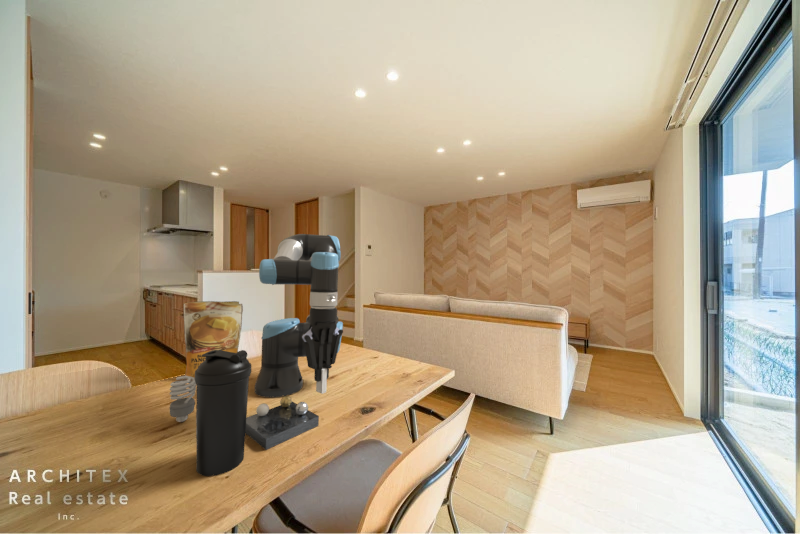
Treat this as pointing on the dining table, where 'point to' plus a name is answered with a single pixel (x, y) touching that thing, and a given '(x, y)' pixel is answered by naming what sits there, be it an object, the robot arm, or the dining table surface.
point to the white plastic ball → (262, 409)
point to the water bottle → (221, 411)
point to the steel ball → (301, 408)
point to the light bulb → (182, 398)
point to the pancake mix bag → (210, 330)
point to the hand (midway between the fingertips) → (321, 391)
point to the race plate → (279, 425)
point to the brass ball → (285, 401)
